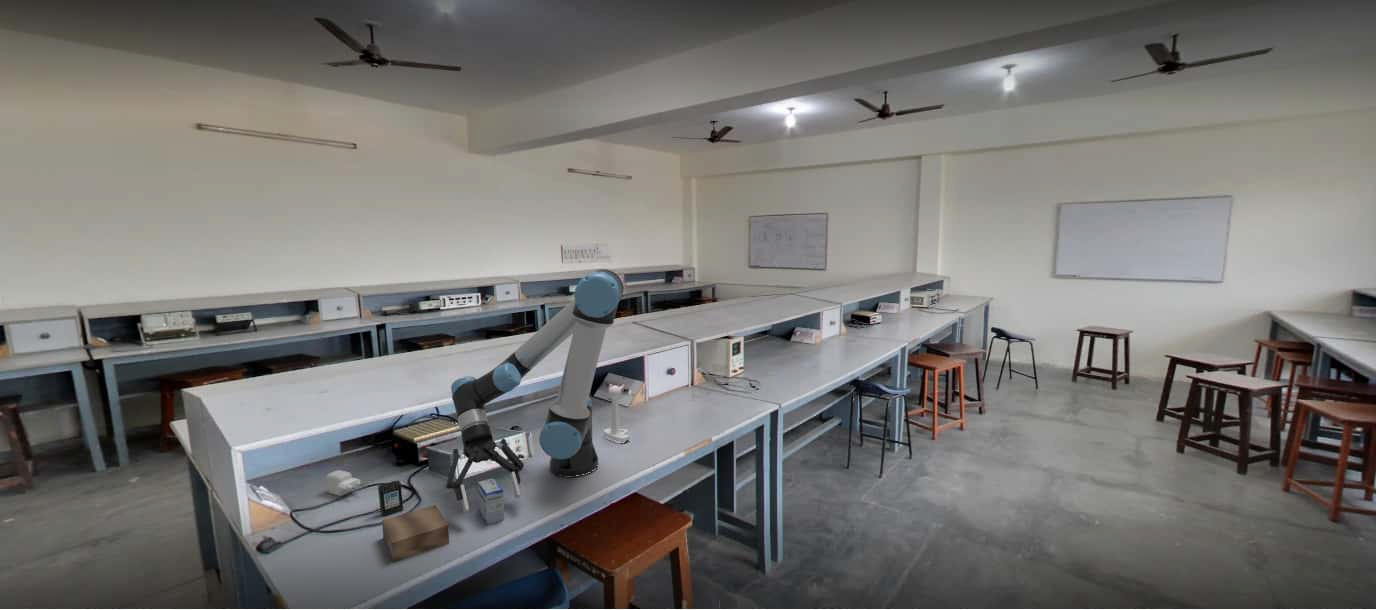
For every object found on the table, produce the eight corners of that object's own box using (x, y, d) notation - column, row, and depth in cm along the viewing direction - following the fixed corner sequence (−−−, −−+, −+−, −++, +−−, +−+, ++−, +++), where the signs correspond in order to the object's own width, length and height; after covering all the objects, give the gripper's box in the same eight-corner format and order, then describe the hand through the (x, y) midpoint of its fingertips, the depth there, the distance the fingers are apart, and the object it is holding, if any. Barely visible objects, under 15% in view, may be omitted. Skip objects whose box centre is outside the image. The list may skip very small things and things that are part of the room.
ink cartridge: (382, 517, 138) (379, 488, 137) (380, 513, 140) (377, 485, 139) (403, 510, 142) (400, 482, 140) (401, 507, 143) (398, 479, 142)
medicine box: (478, 512, 141) (476, 481, 140) (495, 507, 144) (493, 477, 143) (487, 525, 135) (485, 493, 134) (504, 520, 138) (503, 488, 136)
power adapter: (369, 494, 150) (367, 474, 149) (352, 502, 146) (351, 482, 145) (341, 486, 154) (339, 467, 153) (324, 494, 150) (323, 474, 149)
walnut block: (436, 522, 137) (435, 504, 136) (449, 544, 127) (448, 525, 127) (383, 539, 129) (382, 520, 128) (393, 563, 120) (391, 543, 119)
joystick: (600, 436, 194) (600, 383, 191) (616, 431, 199) (616, 379, 196) (620, 445, 186) (620, 390, 183) (636, 439, 192) (636, 385, 189)
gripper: (516, 426, 157) (536, 495, 146) (425, 445, 142) (440, 523, 132) (521, 414, 152) (542, 485, 141) (428, 432, 137) (443, 512, 127)
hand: (493, 503), depth 137 cm, fingers open, 12 cm apart
